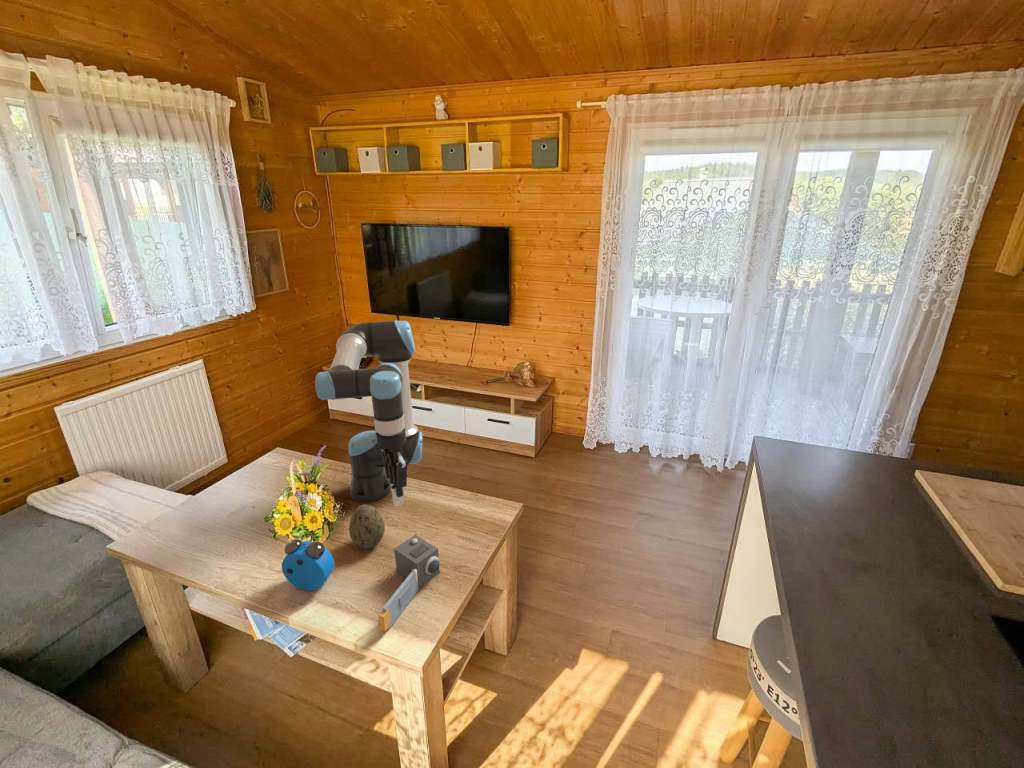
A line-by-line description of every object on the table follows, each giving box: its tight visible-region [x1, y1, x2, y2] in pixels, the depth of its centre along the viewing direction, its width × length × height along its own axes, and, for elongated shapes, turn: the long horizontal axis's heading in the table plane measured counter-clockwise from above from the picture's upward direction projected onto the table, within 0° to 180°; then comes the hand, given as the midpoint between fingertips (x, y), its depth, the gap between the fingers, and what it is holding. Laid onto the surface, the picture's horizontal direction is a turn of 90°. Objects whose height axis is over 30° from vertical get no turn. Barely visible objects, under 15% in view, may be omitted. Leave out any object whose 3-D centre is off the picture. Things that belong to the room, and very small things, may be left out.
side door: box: [378, 568, 420, 632], centre depth 128 cm, size 16×1×7 cm, turn 158°
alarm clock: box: [281, 538, 335, 592], centre depth 136 cm, size 13×6×15 cm, turn 80°
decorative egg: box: [348, 504, 386, 549], centre depth 151 cm, size 11×11×15 cm
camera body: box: [393, 534, 441, 589], centre depth 140 cm, size 11×8×10 cm
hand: (398, 503), depth 134 cm, fingers closed
